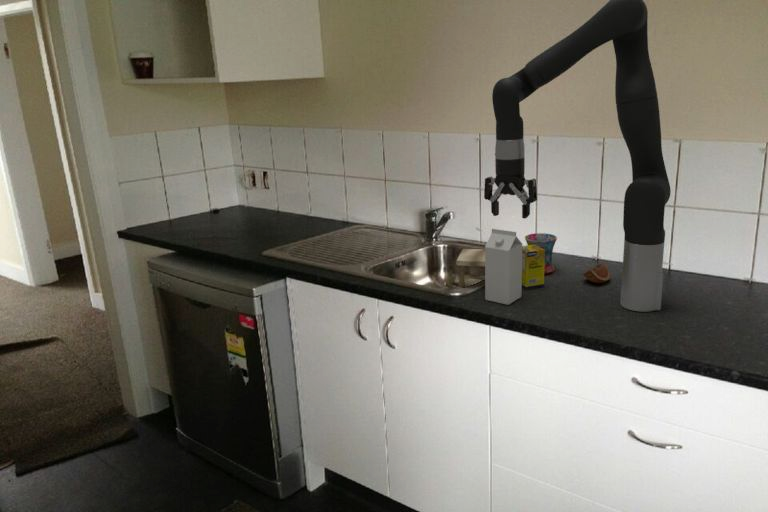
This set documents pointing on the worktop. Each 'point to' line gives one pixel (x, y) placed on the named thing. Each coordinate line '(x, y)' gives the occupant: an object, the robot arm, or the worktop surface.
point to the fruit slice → (598, 274)
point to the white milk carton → (503, 267)
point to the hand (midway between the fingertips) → (510, 216)
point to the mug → (544, 247)
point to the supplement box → (533, 266)
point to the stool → (470, 264)
